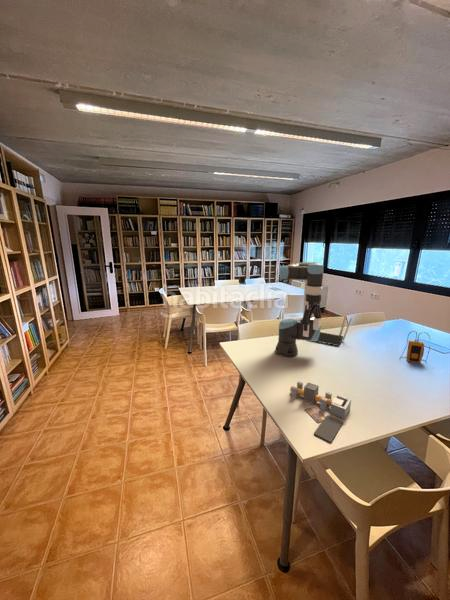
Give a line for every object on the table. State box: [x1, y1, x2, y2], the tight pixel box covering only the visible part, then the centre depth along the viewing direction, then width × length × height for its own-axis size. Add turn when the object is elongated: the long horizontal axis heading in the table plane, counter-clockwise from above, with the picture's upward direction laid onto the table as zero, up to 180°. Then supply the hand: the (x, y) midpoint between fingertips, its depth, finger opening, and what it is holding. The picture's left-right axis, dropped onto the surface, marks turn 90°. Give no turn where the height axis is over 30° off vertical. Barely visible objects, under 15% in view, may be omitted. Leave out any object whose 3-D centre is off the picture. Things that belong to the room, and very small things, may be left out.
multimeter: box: [399, 330, 431, 364], centre depth 158 cm, size 15×10×20 cm
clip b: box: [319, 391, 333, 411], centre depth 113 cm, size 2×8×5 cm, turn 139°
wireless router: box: [317, 314, 353, 346], centre depth 193 cm, size 34×23×20 cm
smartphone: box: [313, 414, 344, 444], centre depth 99 cm, size 7×1×15 cm
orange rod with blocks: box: [289, 382, 344, 407], centre depth 116 cm, size 24×5×7 cm, turn 50°
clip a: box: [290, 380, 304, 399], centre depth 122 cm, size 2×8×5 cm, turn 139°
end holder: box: [329, 394, 352, 420], centre depth 109 cm, size 6×9×5 cm, turn 139°
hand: (310, 333), depth 131 cm, fingers open, 13 cm apart
